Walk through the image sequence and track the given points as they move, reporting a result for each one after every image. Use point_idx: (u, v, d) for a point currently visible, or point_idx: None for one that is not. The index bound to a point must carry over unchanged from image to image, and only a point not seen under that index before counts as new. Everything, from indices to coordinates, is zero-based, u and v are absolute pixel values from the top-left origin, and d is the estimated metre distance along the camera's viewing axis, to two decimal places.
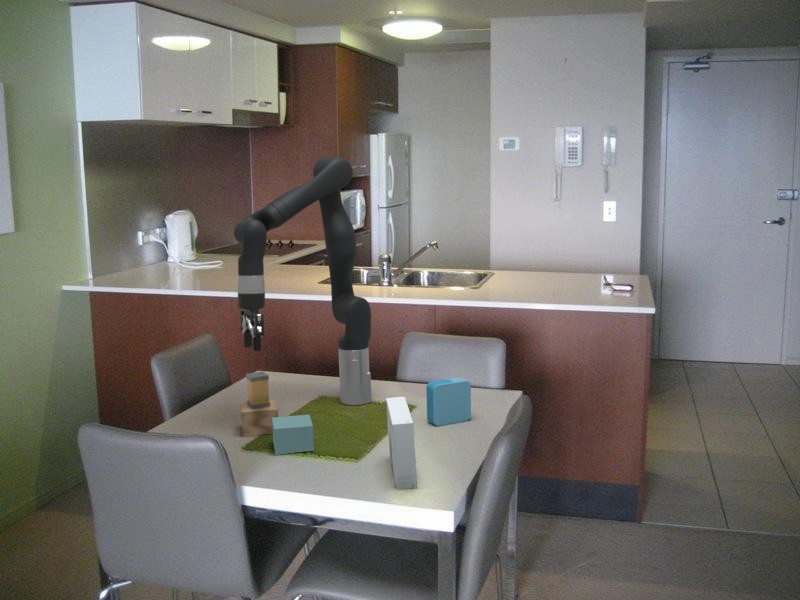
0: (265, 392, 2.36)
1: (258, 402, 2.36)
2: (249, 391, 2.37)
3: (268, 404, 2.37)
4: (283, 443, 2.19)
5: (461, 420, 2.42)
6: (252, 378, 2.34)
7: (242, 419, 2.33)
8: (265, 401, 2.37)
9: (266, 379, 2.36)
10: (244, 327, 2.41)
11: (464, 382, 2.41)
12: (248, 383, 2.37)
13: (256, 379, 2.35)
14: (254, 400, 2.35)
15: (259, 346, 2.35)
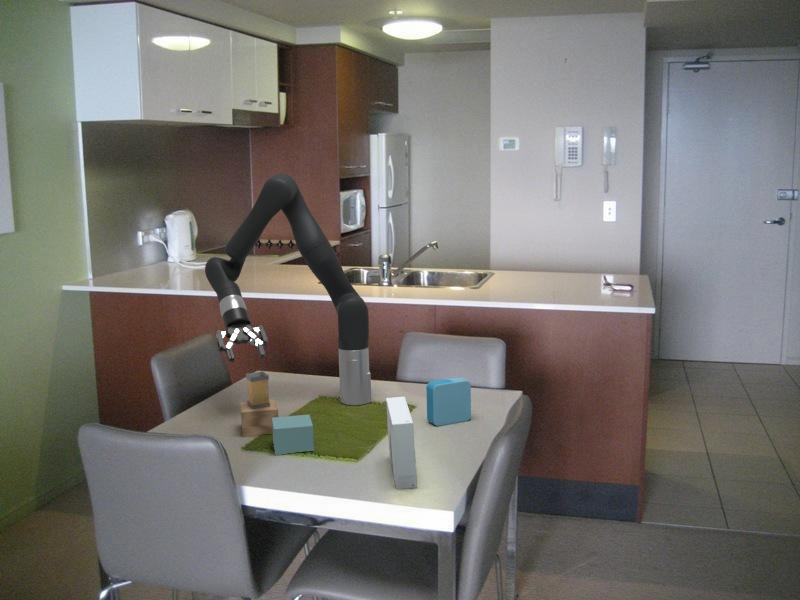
0: (265, 392, 2.36)
1: (258, 402, 2.36)
2: (249, 391, 2.37)
3: (268, 404, 2.37)
4: (283, 443, 2.19)
5: (461, 420, 2.42)
6: (252, 378, 2.34)
7: (242, 419, 2.33)
8: (265, 401, 2.37)
9: (266, 379, 2.36)
10: (251, 343, 2.49)
11: (464, 382, 2.41)
12: (248, 383, 2.37)
13: (256, 379, 2.35)
14: (254, 400, 2.35)
15: (228, 357, 2.42)
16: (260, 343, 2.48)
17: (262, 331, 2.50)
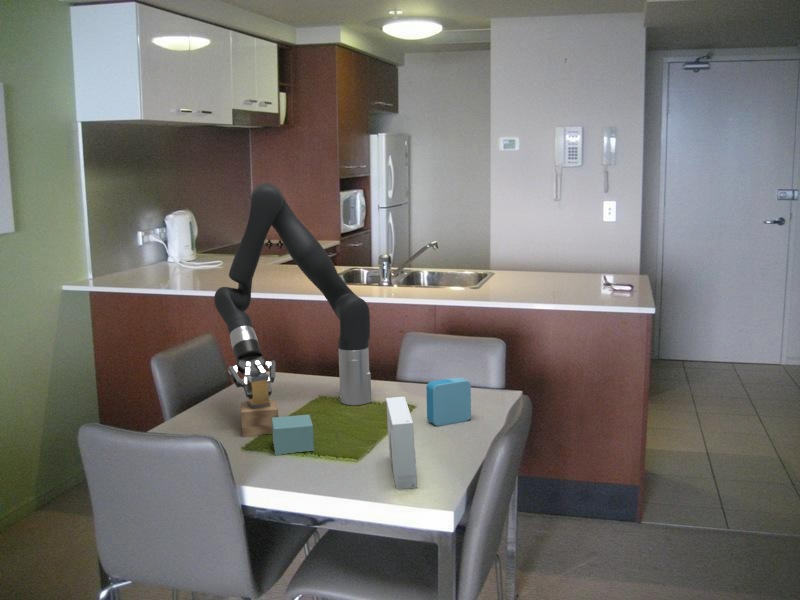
0: (265, 393, 2.36)
1: (258, 402, 2.36)
2: None
3: (268, 404, 2.37)
4: (283, 443, 2.19)
5: (461, 420, 2.42)
6: (252, 378, 2.34)
7: (242, 419, 2.33)
8: (265, 401, 2.37)
9: (266, 379, 2.36)
10: None
11: (464, 382, 2.41)
12: None
13: (256, 379, 2.35)
14: (254, 400, 2.35)
15: (246, 393, 2.35)
16: None
17: (273, 367, 2.42)
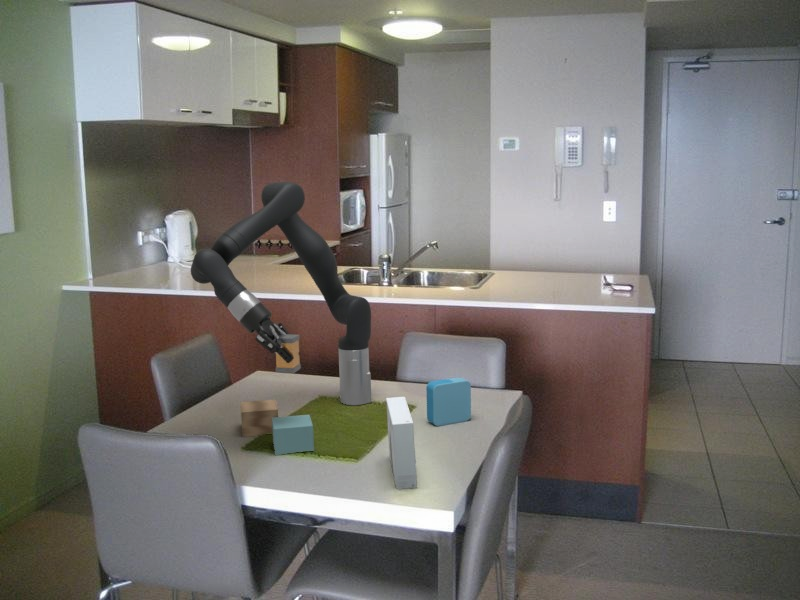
0: (297, 354, 2.21)
1: (295, 365, 2.20)
2: None
3: (300, 366, 2.23)
4: (283, 443, 2.19)
5: (461, 420, 2.42)
6: (293, 339, 2.17)
7: (242, 419, 2.33)
8: (298, 363, 2.22)
9: (298, 339, 2.21)
10: None
11: (464, 382, 2.41)
12: None
13: (294, 340, 2.18)
14: (293, 363, 2.19)
15: (287, 357, 2.17)
16: None
17: (284, 328, 2.26)
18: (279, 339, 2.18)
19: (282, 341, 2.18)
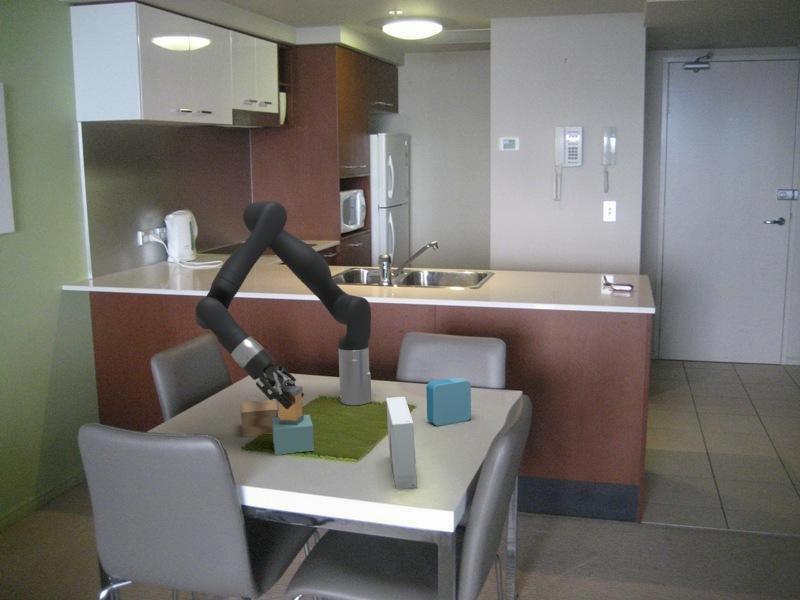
0: (300, 405, 2.24)
1: (298, 417, 2.22)
2: None
3: (303, 417, 2.25)
4: (283, 443, 2.19)
5: (461, 420, 2.42)
6: (295, 392, 2.19)
7: (242, 419, 2.33)
8: (301, 414, 2.24)
9: (301, 391, 2.23)
10: (281, 386, 2.26)
11: (464, 382, 2.41)
12: None
13: (297, 392, 2.21)
14: (296, 415, 2.21)
15: (286, 403, 2.17)
16: (294, 383, 2.27)
17: (285, 370, 2.28)
18: (282, 392, 2.20)
19: (285, 394, 2.20)
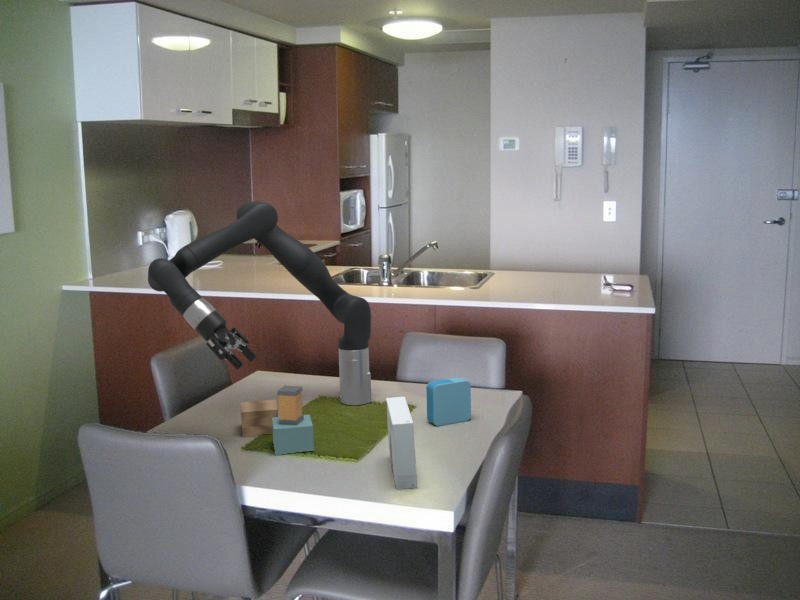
0: (300, 405, 2.24)
1: (298, 417, 2.22)
2: (285, 408, 2.21)
3: (303, 417, 2.25)
4: (283, 443, 2.19)
5: (461, 420, 2.42)
6: (295, 392, 2.19)
7: (242, 419, 2.33)
8: (301, 414, 2.24)
9: (301, 391, 2.23)
10: (233, 348, 2.27)
11: (464, 382, 2.41)
12: (283, 400, 2.20)
13: (297, 392, 2.21)
14: (296, 415, 2.21)
15: (236, 363, 2.19)
16: (246, 345, 2.28)
17: (238, 333, 2.30)
18: (282, 392, 2.20)
19: (285, 394, 2.20)
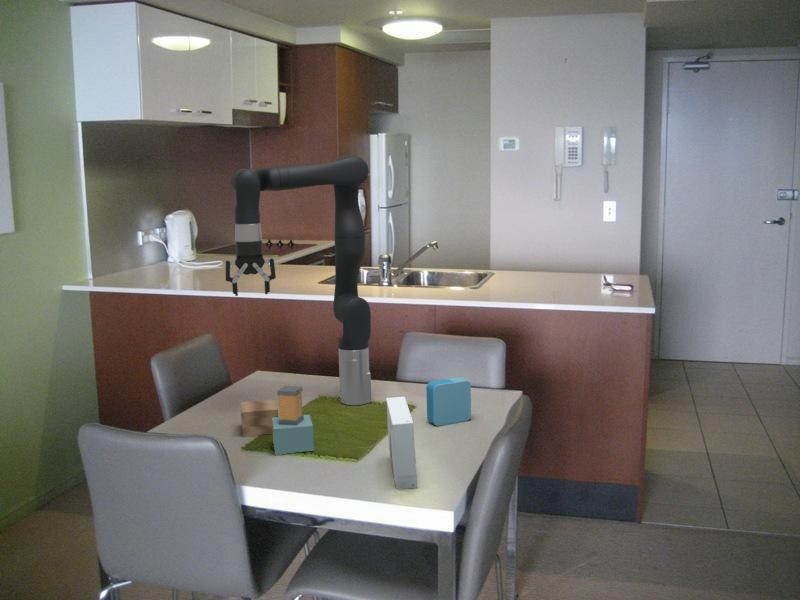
0: (300, 405, 2.24)
1: (298, 417, 2.22)
2: (285, 408, 2.21)
3: (303, 417, 2.25)
4: (283, 443, 2.19)
5: (461, 420, 2.42)
6: (295, 392, 2.19)
7: (242, 419, 2.33)
8: (301, 414, 2.24)
9: (301, 391, 2.23)
10: None
11: (464, 382, 2.41)
12: (283, 400, 2.20)
13: (297, 392, 2.21)
14: (296, 415, 2.21)
15: None
16: (267, 280, 2.47)
17: (272, 266, 2.47)
18: (282, 392, 2.20)
19: (285, 394, 2.20)
